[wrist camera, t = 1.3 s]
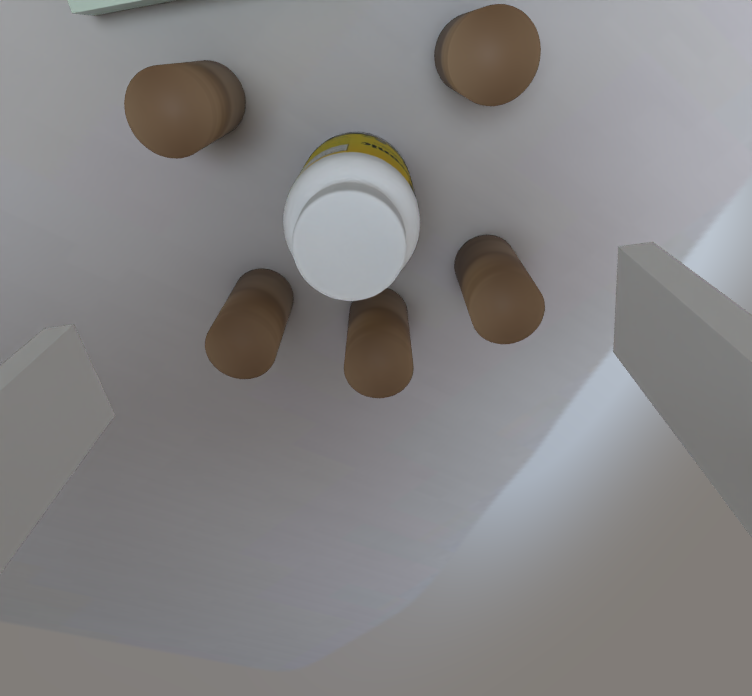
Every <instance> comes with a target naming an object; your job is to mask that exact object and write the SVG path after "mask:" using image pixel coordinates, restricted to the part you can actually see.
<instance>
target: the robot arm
mask: <svg viewBox="0 0 752 696" xmlns="http://www.w3.org/2000/svg"><path fill="white" fill-rule="evenodd" d="M613 352H614V354H615V355H616V356H617V358H618V359H619V360H620V361H621V363H622V364H623V366H624V367H625V368H626V370H627V371H628V372H629V374H630V375H631V376H632V378H633V379H634V380H635V382H636V383H637V384H638V386H639V387H640V388H641V390H642V391H643V392H644V394H645V395H646V396H647V398H648V399H649V401H650V402H651V403H652V405H653V406H654V407H655V409H656V410H657V411H658V413H659V414H660V415H661V417H662V418H663V419H664V420H665V422H666V423H667V424H668V426H669V427H670V429H671V430H672V431H673V433H674V434H675V435H676V436H677V438H678V439H679V441H680V442H681V443H682V445H683V446H684V447H685V449H686V450H687V451H688V453H689V454H690V455H691V457H692V458H693V460H694V461H695V462H696V464H697V465H698V466H699V468H700V469H701V470H702V472H703V473H704V474H705V476H706V477H707V478H708V480H709V481H710V482H711V483H712V485H713V486H714V488H715V489H716V490H717V492H718V493H719V494H720V496H721V497H722V498H723V500H724V501H725V502H726V504H727V505H728V506H729V508H730V509H731V511H732V512H733V513H734V515H735V516H736V517H737V519H738V520H739V521H740V523H741V524H742V525H743V527H744V528H745V529H746V531H747V532H748V533H749V535H750V536H751V537H752V314H750V313H749V312H748V311H746V310H745V309H743V308H742V307H741V306H739V305H738V304H736V303H735V302H734V301H732V300H731V299H730V298H728V297H727V296H726V295H724V294H723V293H722V292H720V291H719V290H718V289H716V288H715V287H713V286H712V285H711V284H709V283H708V282H707V281H705V280H704V279H703V278H701V277H700V276H698V275H697V274H696V273H694V272H693V271H692V270H690V269H689V268H688V267H686V266H685V265H684V264H682V263H681V262H680V261H678V260H677V259H675V258H674V257H673V256H671V255H670V254H669V253H667V252H666V251H665V250H663V249H662V248H661V247H659V246H658V245H656V244H655V243H654V242H649V243H642V244H634V245H627V246H620V247H618V263H617V284H616V306H615V327H614V348H613ZM114 416H115V414H114V411H113V409H112V407H111V405H110V403H109V400H108V398H107V396H106V394H105V392H104V389H103V387H102V385H101V383H100V381H99V378H98V376H97V374H96V372H95V369H94V367H93V365H92V363H91V361H90V358H89V356H88V354H87V352H86V350H85V347H84V345H83V343H82V341H81V339H80V336H79V334H78V332H77V330H76V327H75V325H74V324H71V325H64V326H57V327H50V328H45V329H43V330H42V331H41V332H40V333H39V334H37V335H36V336H35V337H34V338H33V339H31V340H30V341H29V342H28V343H27V344H26V345H24V346H23V347H22V348H21V349H20V350H18V351H17V352H16V353H15V354H14V355H12V356H11V357H10V358H9V359H8V360H6V361H5V362H4V363H3V364H2V365H1V366H0V574H1V573H2V571H3V570H4V569H5V567H6V566H7V564H8V563H9V562H10V560H11V559H12V557H13V556H14V555H15V553H16V552H17V551H18V549H19V548H20V546H21V545H22V544H23V542H24V541H25V539H26V538H27V537H28V535H29V534H30V533H31V531H32V530H33V528H34V527H35V526H36V524H37V523H38V521H39V520H40V519H41V517H42V516H43V515H44V513H45V512H46V510H47V509H48V508H49V506H50V505H51V503H52V502H53V501H54V499H55V498H56V497H57V495H58V494H59V492H60V491H61V490H62V488H63V487H64V485H65V484H66V483H67V481H68V480H69V479H70V477H71V476H72V474H73V473H74V472H75V470H76V469H77V467H78V466H79V465H80V463H81V462H82V461H83V459H84V458H85V456H86V455H87V454H88V452H89V451H90V449H91V448H92V447H93V445H94V444H95V443H96V441H97V440H98V438H99V437H100V436H101V434H102V433H103V431H104V430H105V429H106V427H107V426H108V425H109V423H110V422H111V420H112V419H113V418H114Z"/></svg>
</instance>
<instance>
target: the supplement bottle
mask: <svg viewBox="0 0 752 696" xmlns="http://www.w3.org/2000/svg"><path fill="white" fill-rule="evenodd" d="M283 229H284V235H285V239H286V242H287V245H288V248H289V250H290V252H291V254H292V256H293V257H294V261H295V264H296V266H297V268H298V270H299V272H300V274H301V275H302V277H303V278H304V279H305V280H306V282H307V283H308V284H309V285H311V286H312V287H313V288H314V289H315V290H317V291H319V292H320V293H322V294H324V295H326V296H328V297H331V298H334V299H338V300H344V301H358V300H363V299H367V298H370V297H373V296H375V295H377V294H379V293H381V292H382V291H383V290H385V289H386V288H387V287H388V286H390V285H391V284H392V282H393V281H394V280H395V279H396V277H397V276H398V274H399V273H400V271H401V269H402V268H403V267H404V266H405V265H406V264H407V262H408V261H409V259H410V258H411V256H412V254H413V252H414V250H415V248H416V245H417V242H418V238H419V232H420V213H419V207H418V202H417V199H416V196H415V193H414V189H413V185H412V181H411V178H410V175H409V171H408V169H407V166H406V164H405V162H404V160H403V159H402V157H401V156H400V154H399V153H398V152H397V151H396V150H395V149H394V148H393V147H392V146H391V145H390V144H389V143H387V142H386V141H384V140H383V139H381V138H379V137H377V136H374V135H371V134H367V133H361V132H350V133H345V134H341V135H338V136H335V137H333V138H331V139H329V140H327V141H326V142H324V143H323V144H322V145H321V146H319V147H318V148H317V149H316V150H315V151H314V152H313V154H312V155H311V156H310V157H309V159H308V161H307V162H306V164H305V166H304V167H303V169H302V171H301V172H300V174H299V176H298V177H297V179H296V180H295V182H294V184H293V186H292V188H291V190H290V192H289V194H288V197H287V200H286V203H285V207H284V214H283Z"/></svg>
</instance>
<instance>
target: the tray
mask: <svg viewBox="0 0 752 696" xmlns="http://www.w3.org/2000/svg"><path fill="white" fill-rule="evenodd" d="M170 1H175V0H68V3H69V6H70V9H71V12H72V13H74V14H84V15H94V16H95V15H101V14H106V13H111V12H117V11H122V10H127V9H133V8H138V7H143V6H149V5H154V4H159V3H165V2H170Z"/></svg>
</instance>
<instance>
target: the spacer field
mask: <svg viewBox="0 0 752 696" xmlns="http://www.w3.org/2000/svg"><path fill="white" fill-rule="evenodd" d="M540 52H541V48H540V39H539V35H538V32H537V30H536V27H535V25H534V24H533V22H532V21H531V19H530V18H529V17H528V16H527V15H526V14H525V13H524V12H522V11H521V10H519V9H517V8H515V7H513V6H510V5H505V4H495V5H490V6H486V7H483V8H480V9H477V10H474V11H471V12H468V13H465V14H462V15H460V16H457V17H456V18H454V19H453V20H451V21H450V22H449V23H448V24H447V25H446V26H445V27H444V29H443V30H442V32H441V33H440V35H439V37H438V40H437V43H436V47H435V54H434V56H435V66H436V69H437V72H438V74H439V76H440V78H441V79H442V81H443V82H444V83H445V84H446V85H447V86H448V87H450V88H451V89H453V90H454V91H456V92H457V93H459V94H461V95H462V96H464V97H466V98H467V99H469V100H470V101H472V102H474V103H477V104H480V105H484V106H497V105H502V104H505V103H507V102H510V101H512V100H513V99H515V98H516V97H518V96H519V95H520V94H521V93H522V92H524V91H525V89H526V88H527V87H528V86H529V84H530V83H531V81H532V80H533V78H534V76H535V74H536V71H537V69H538V65H539V61H540ZM124 105H125V114H126V118H127V121H128V124H129V126H130V128H131V130H132V132H133V133H134V135H135V136H136V138H137V139H138V140H139V141H140V142H141V143H142V144H143V145H144V146H145V147H146V148H148V149H149V150H151V151H152V152H154V153H156V154H158V155H160V156H164V157H168V158H184V157H188V156H190V155H193V154H194V153H196V152H198V151H199V150H201V149H203V148H204V147H206V146H208V145H209V144H211V143H212V142H214V141H216V140H217V139H219V138H221V137H222V136H224V135H226V134H227V133H229V132H231V131H232V130H234V129H235V128H236V127H237V126H238V125H239V123H240V122H241V120H242V118H243V115H244V112H245V95H244V91H243V88H242V85H241V83H240V82H239V80H238V78H237V77H236V76H235V74H234V73H233V72H232V71H231V70H229V69H228V68H227V67H225V66H224V65H222V64H220V63H217V62H214V61H208V60H204V61H194V62H184V63H174V64H164V65H155V66H150V67H147V68H145V69H143V70H141V71H140V72H138V73H137V74H136V75H135V76H134V77H133V79H132V80H131V81H130V83H129V85H128V87H127V90H126V94H125V101H124ZM454 268H455V274H456V277H457V280H458V283H459V285H460V288H461V291H462V294H463V297H464V300H465V303H466V306H467V309H468V312H469V315H470V318H471V321H472V324H473V326H474V328H475V330H476V331H477V333H478V334H479V335H480V336H481V337H483V338H484V339H486V340H488V341H490V342H493V343H497V344H511V343H515V342H518V341H521V340H523V339H525V338H527V337H528V336H529V335H531V334H532V333H533V332H534V331H535V330H536V329H537V328H538V326H539V325H540V323H541V321H542V319H543V316H544V311H545V304H544V299H543V296H542V294H541V292H540V290H539V289H538V287H537V286H536V284H535V283H534V281H533V280H532V278H531V277H530V275H529V274H528V272H527V271H526V269H525V268H524V266H523V265H522V263H521V261H520V260H519V258H518V257H517V255H516V254H515V252H514V251H513V249H512V248H511V246H510V245H509V244H508V243H507V242H506V241H505V240H503V239H502V238H500V237H497V236H493V235H481V236H478V237H475V238H473V239H471V240H469V241H468V242H466V243H465V244H464V245H463V246H462V247H461V249H460V250H459V252H458V253H457V256H456V259H455V264H454ZM292 305H293V292H292V289H291V286H290V285H289V283H288V282H287V280H286V279H285V278H284V277H283V276H281V275H280V274H278V273H277V272H274V271H272V270H268V269H254V270H251V271H249V272H247V273H245V274H244V275H243V276H241V277H240V279H239V280H238V282H237V283H236V285H235V287H234V289H233V290H232V292H231V294H230V295H229V297H228V299H227V301H226V302H225V304H224V306H223V307H222V309H221V311H220V313H219V314H218V316H217V318H216V319H215V321H214V323H213V324H212V326H211V328H210V330H209V331H208V333H207V336H206V339H205V350H206V353H207V356H208V358H209V360H210V361H211V363H212V364H213V365H214V366H215V367H216V368H217V369H218V370H219V371H221V372H222V373H224V374H226V375H228V376H230V377H234V378H238V379H251V378H255V377H258V376H261V375H262V374H264V373H266V372H267V371H268V370H269V369H270V368H271V366H272V365H273V363H274V361H275V358H276V355H277V352H278V349H279V345H280V342H281V339H282V336H283V333H284V330H285V327H286V324H287V321H288V318H289V314H290V311H291V308H292ZM344 374H345V377H346V379H347V381H348V383H349V384H350V386H351V387H352V388H353V389H354V390H356V391H357V392H358V393H360V394H362V395H365V396H367V397H372V398H385V397H390V396H393V395H395V394H397V393H399V392H400V391H402V390H403V389H404V388H405V387H406V386H407V385H408V383H409V382H410V380H411V378H412V375H413V358H412V349H411V341H410V332H409V323H408V314H407V307H406V304H405V302H404V300H403V299H402V298H401V297H400V296H399V295H398V294H397V293H396V292H394V291H393V290H390V289H387V288H386V289H385V290H383V291H382V292H381V293H379V294H377V295H375V296H373V297H370V298H367V299H363V300H358V301H353V302H352V304H351V307H350V313H349V322H348V332H347V342H346V352H345V361H344Z"/></svg>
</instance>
